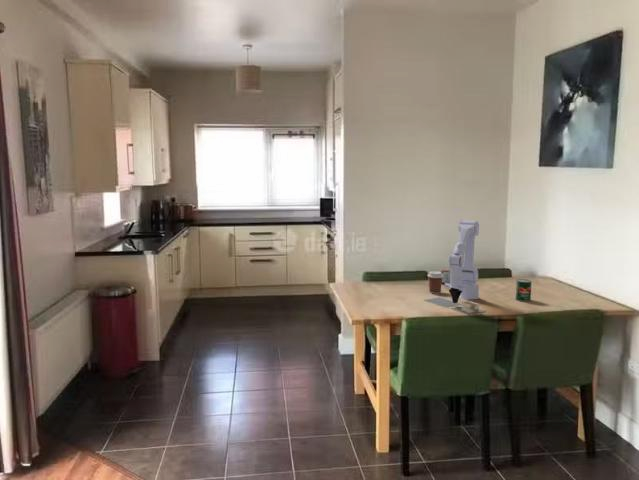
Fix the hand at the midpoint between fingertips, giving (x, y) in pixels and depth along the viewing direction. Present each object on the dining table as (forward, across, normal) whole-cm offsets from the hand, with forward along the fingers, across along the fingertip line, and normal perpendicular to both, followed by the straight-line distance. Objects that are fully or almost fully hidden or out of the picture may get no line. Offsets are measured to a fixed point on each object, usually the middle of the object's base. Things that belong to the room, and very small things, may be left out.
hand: (455, 302), depth 282 cm
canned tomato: (+3, +8, +43) cm, 44 cm away
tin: (+3, -45, +40) cm, 60 cm away
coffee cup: (+2, -30, +14) cm, 33 cm away
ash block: (+2, +11, -1) cm, 11 cm away
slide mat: (+2, -1, 0) cm, 3 cm away
